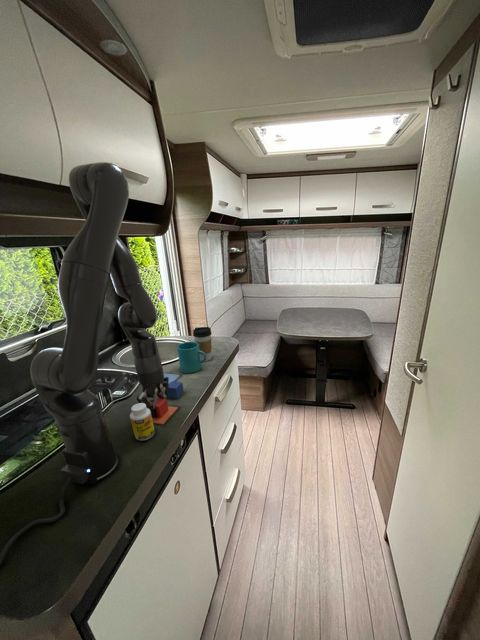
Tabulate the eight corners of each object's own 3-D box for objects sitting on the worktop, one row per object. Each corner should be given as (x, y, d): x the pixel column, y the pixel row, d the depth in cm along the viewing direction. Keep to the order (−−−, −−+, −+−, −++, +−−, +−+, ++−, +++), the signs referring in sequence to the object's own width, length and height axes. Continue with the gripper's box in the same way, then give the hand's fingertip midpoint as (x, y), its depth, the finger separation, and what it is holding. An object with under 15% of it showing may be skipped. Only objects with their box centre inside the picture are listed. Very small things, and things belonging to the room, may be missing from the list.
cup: (205, 373, 118) (202, 349, 114) (177, 373, 119) (173, 349, 115) (210, 364, 126) (207, 341, 122) (184, 364, 127) (181, 341, 123)
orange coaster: (163, 424, 87) (163, 423, 87) (138, 420, 90) (138, 419, 89) (178, 408, 95) (177, 407, 95) (155, 405, 97) (155, 404, 97)
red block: (161, 418, 90) (158, 406, 88) (149, 416, 91) (146, 405, 89) (168, 410, 94) (166, 399, 92) (157, 408, 95) (154, 397, 93)
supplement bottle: (137, 444, 80) (129, 414, 75) (133, 433, 84) (126, 405, 80) (157, 436, 82) (150, 407, 78) (152, 426, 87) (146, 399, 83)
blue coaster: (170, 385, 110) (169, 384, 110) (152, 383, 112) (152, 382, 112) (180, 375, 117) (180, 374, 117) (163, 374, 119) (163, 373, 119)
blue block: (177, 398, 101) (175, 388, 99) (166, 397, 102) (164, 387, 100) (183, 392, 105) (182, 382, 103) (173, 391, 106) (171, 381, 104)
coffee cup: (212, 362, 128) (209, 331, 123) (194, 362, 129) (190, 332, 123) (215, 354, 136) (212, 325, 130) (198, 355, 136) (194, 326, 130)
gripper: (152, 356, 93) (161, 399, 100) (122, 376, 80) (135, 424, 87) (172, 358, 91) (180, 401, 98) (145, 379, 78) (156, 428, 85)
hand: (158, 412), depth 92 cm, fingers closed on red block, 4 cm apart
